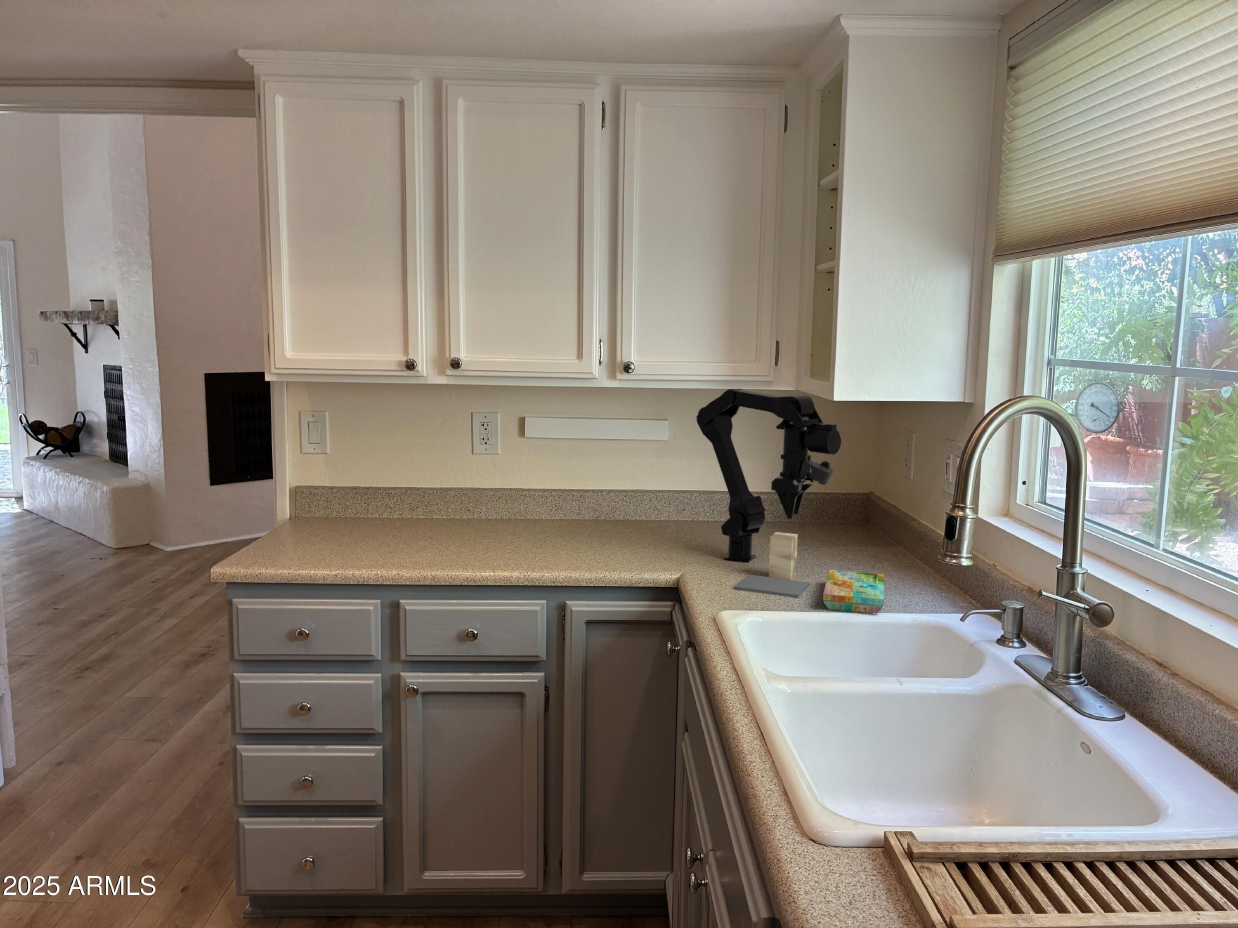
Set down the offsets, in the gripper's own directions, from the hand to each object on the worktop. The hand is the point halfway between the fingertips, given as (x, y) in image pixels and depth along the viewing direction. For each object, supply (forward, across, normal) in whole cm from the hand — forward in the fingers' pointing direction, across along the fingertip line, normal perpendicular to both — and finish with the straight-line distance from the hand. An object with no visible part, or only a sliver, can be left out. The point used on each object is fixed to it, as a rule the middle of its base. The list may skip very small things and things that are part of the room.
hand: (792, 516), depth 216 cm
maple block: (+13, -8, 0) cm, 15 cm away
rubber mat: (+13, -16, 0) cm, 21 cm away
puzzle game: (+14, -17, -18) cm, 28 cm away
